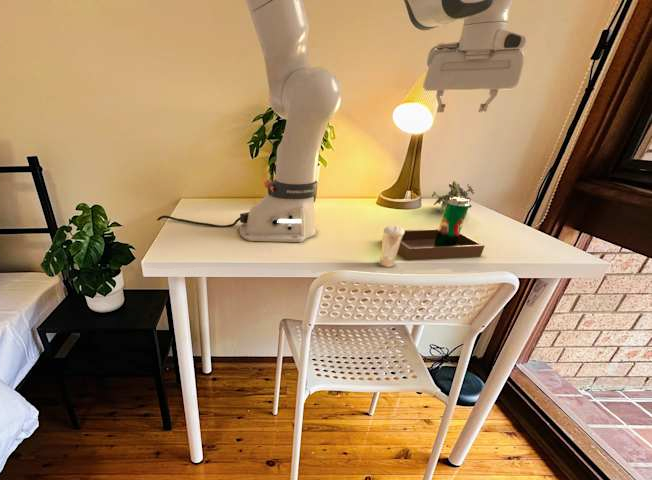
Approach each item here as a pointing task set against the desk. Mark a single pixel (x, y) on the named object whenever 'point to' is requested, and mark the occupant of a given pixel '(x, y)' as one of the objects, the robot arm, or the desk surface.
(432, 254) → the tray
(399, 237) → the milkshake
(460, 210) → the soda can
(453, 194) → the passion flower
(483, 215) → the desk surface
